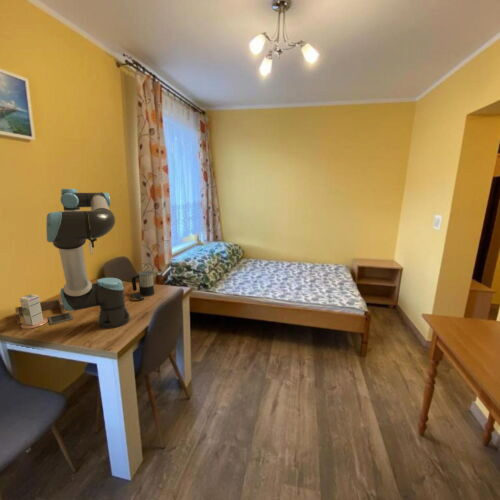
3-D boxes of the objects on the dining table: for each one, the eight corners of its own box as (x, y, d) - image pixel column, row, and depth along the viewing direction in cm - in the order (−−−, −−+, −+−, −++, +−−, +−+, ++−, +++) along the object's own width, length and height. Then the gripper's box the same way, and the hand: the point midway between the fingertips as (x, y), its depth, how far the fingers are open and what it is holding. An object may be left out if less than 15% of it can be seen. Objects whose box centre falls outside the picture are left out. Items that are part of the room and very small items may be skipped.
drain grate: (73, 319, 147) (73, 318, 146) (50, 325, 140) (50, 324, 140) (70, 312, 154) (69, 311, 154) (48, 318, 147) (48, 317, 147)
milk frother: (154, 290, 188) (152, 270, 185) (156, 299, 174) (154, 276, 171) (131, 293, 183) (130, 272, 180) (132, 302, 169) (129, 279, 166)
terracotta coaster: (48, 324, 141) (48, 323, 141) (21, 331, 134) (21, 330, 134) (46, 316, 149) (46, 315, 149) (20, 323, 142) (20, 322, 142)
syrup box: (44, 320, 143) (39, 294, 140) (32, 326, 138) (27, 299, 134) (36, 319, 145) (31, 293, 142) (24, 324, 139) (19, 297, 136)
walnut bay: (64, 312, 154) (63, 304, 153) (17, 324, 141) (15, 315, 140) (61, 306, 163) (60, 298, 162) (16, 316, 150) (15, 307, 149)
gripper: (96, 215, 161) (100, 250, 165) (44, 218, 145) (50, 257, 149) (99, 216, 155) (104, 253, 160) (45, 219, 139) (52, 259, 144)
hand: (78, 255), depth 154 cm, fingers open, 13 cm apart
